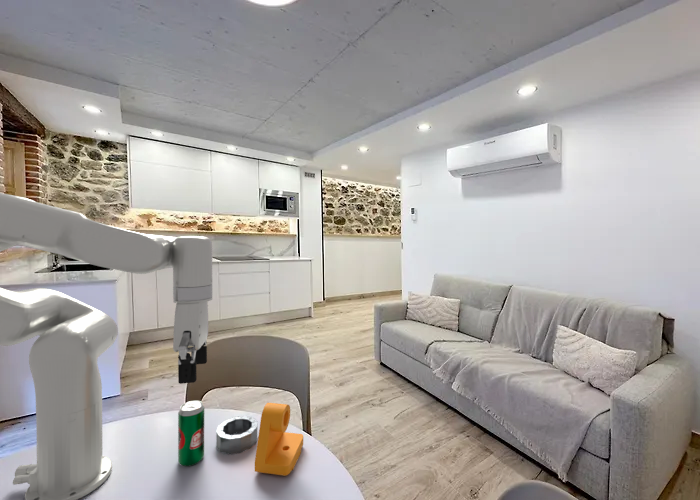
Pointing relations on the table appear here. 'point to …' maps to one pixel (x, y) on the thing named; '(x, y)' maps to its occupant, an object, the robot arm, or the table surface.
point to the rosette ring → (236, 442)
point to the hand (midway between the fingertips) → (193, 372)
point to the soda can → (191, 433)
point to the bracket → (277, 441)
